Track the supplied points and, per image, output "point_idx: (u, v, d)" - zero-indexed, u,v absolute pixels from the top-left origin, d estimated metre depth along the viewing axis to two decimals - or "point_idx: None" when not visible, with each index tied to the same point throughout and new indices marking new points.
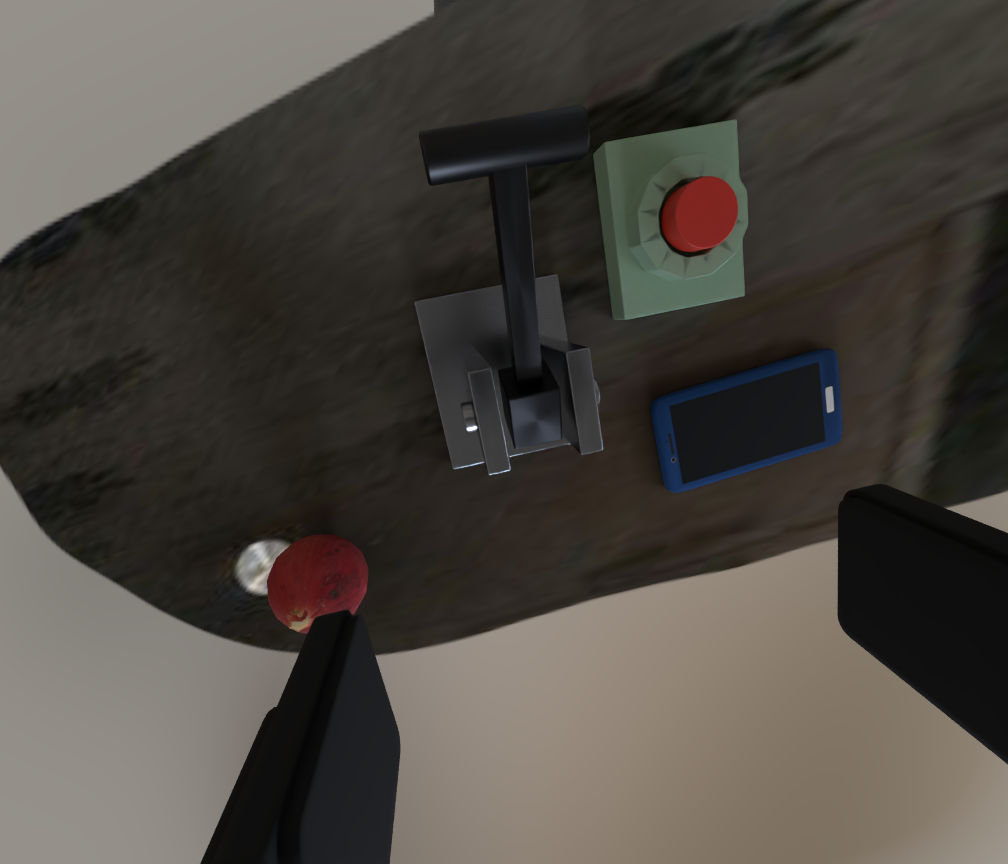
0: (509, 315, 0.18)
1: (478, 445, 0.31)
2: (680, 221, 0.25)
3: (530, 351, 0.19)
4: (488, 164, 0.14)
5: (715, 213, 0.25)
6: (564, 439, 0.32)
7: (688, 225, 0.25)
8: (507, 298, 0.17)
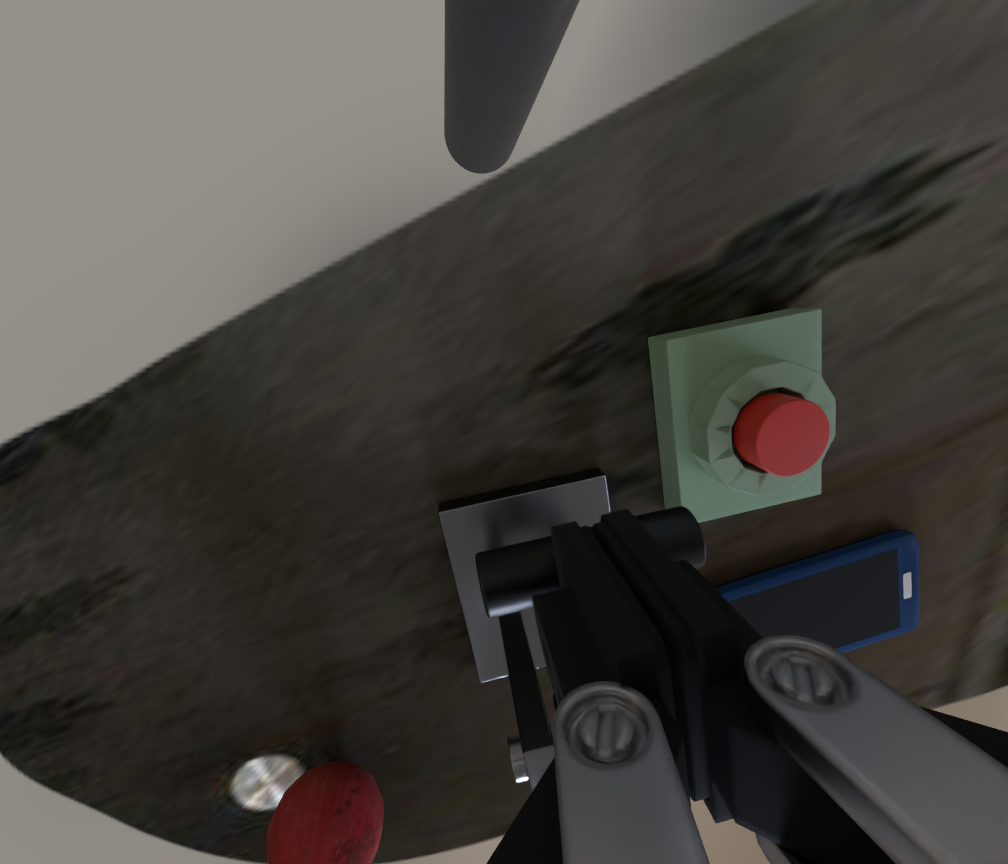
0: None
1: None
2: (761, 450, 0.21)
3: None
4: None
5: (802, 439, 0.21)
6: None
7: (770, 453, 0.21)
8: None
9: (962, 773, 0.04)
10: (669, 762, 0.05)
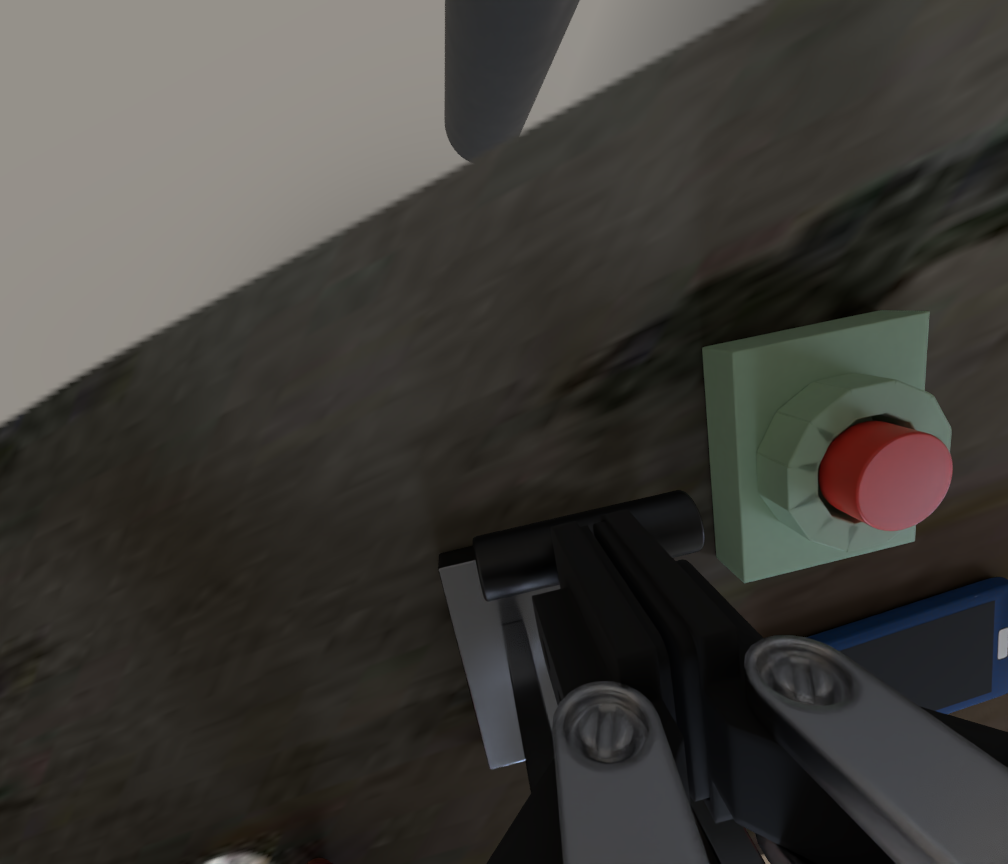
0: None
1: None
2: (864, 498, 0.16)
3: None
4: None
5: (917, 484, 0.16)
6: None
7: (875, 502, 0.16)
8: None
9: (962, 773, 0.04)
10: (669, 762, 0.05)
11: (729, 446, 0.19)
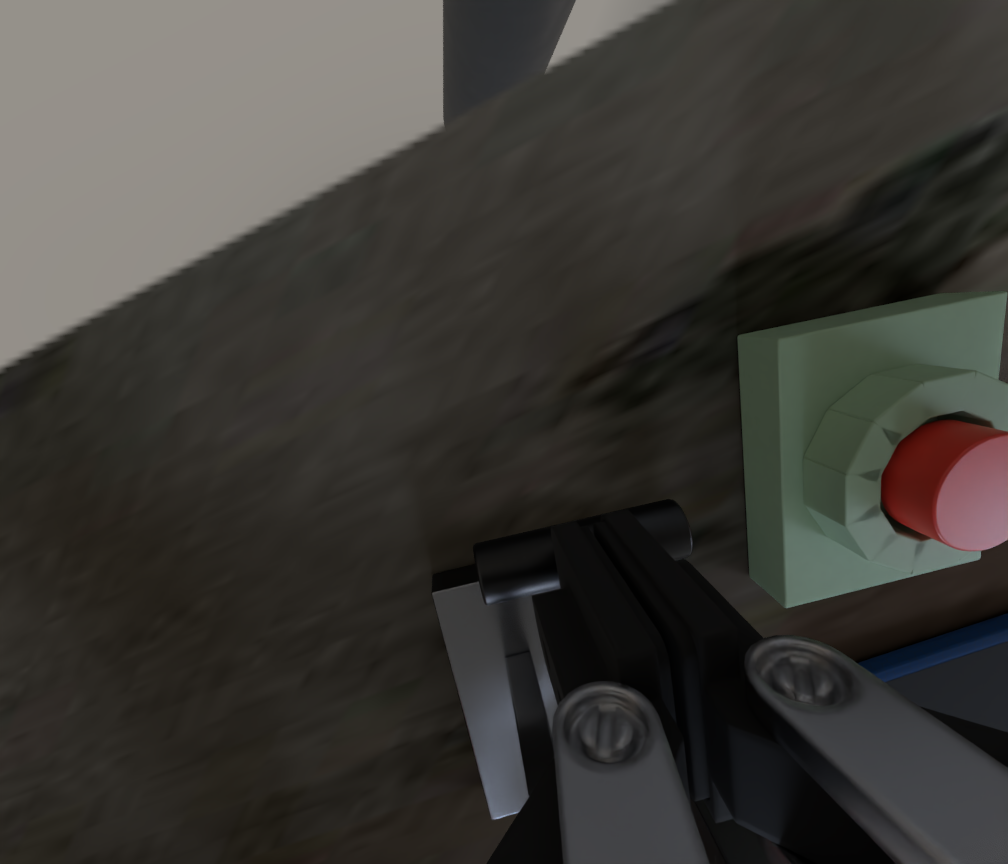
0: None
1: None
2: (942, 513, 0.13)
3: None
4: None
5: (1005, 495, 0.13)
6: None
7: (955, 518, 0.13)
8: None
9: (962, 773, 0.04)
10: (669, 763, 0.05)
11: (770, 450, 0.16)
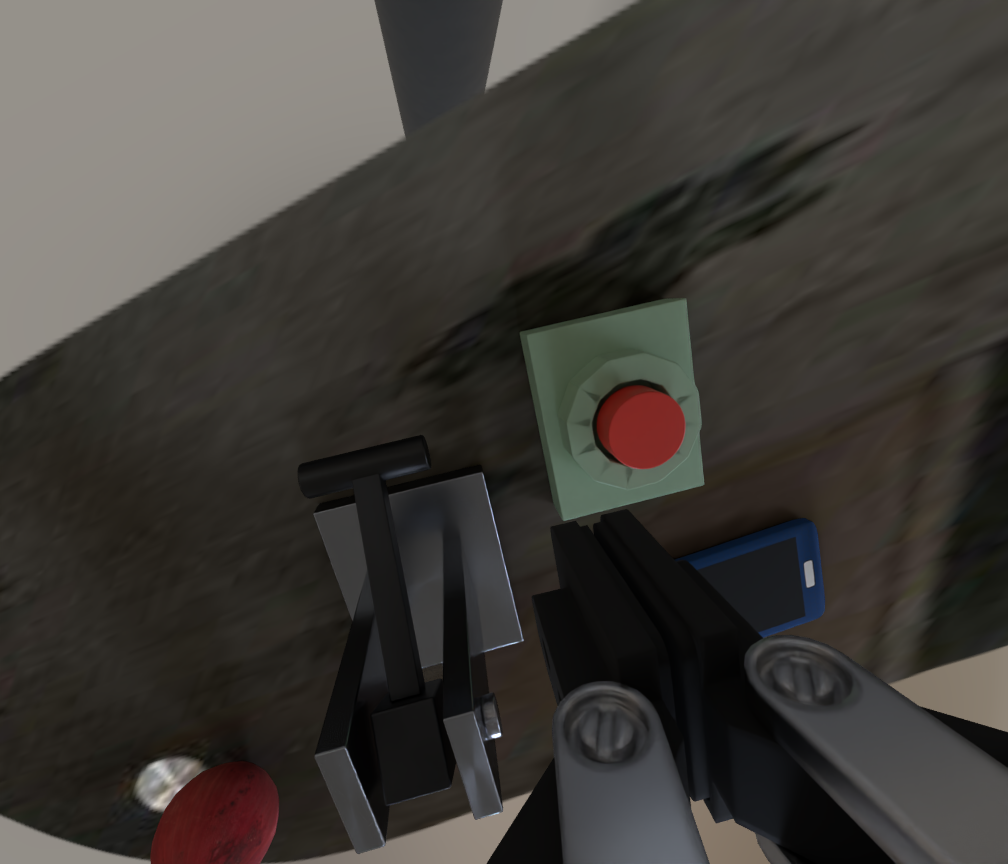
0: (374, 607, 0.17)
1: None
2: (615, 443, 0.21)
3: (400, 650, 0.17)
4: (346, 475, 0.18)
5: (657, 432, 0.21)
6: (502, 641, 0.28)
7: (625, 447, 0.21)
8: (371, 588, 0.18)
9: (962, 773, 0.04)
10: (669, 762, 0.05)
11: (539, 410, 0.24)
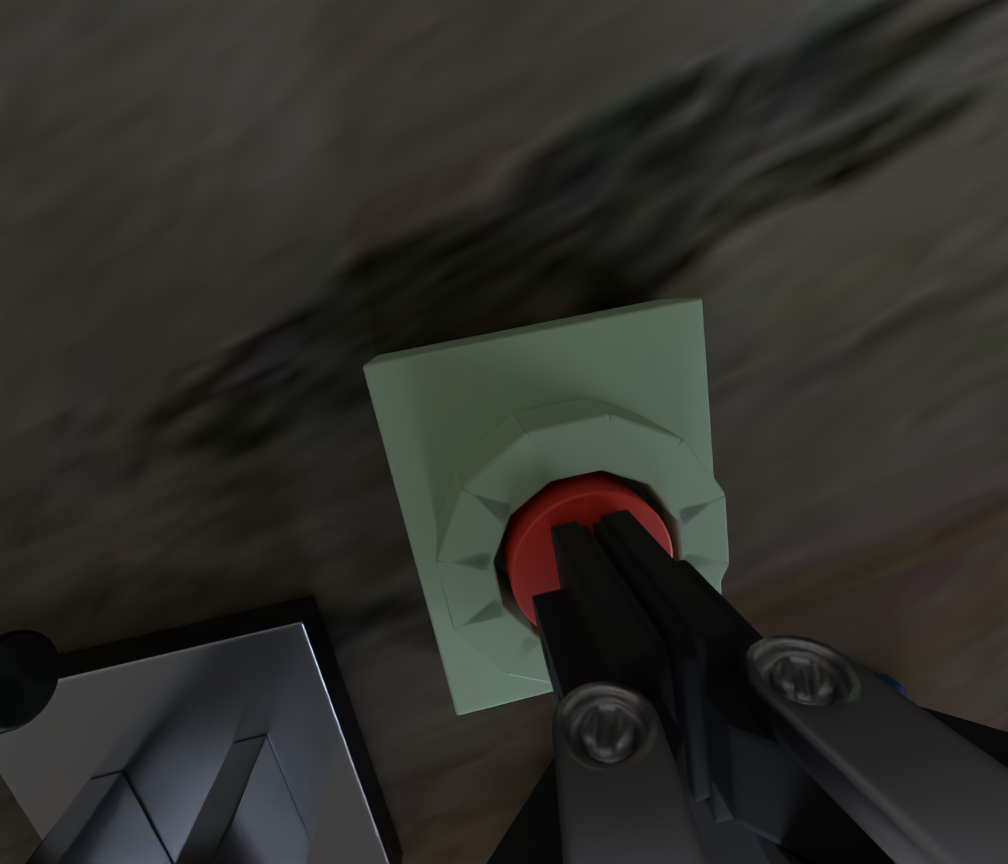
0: None
1: None
2: (526, 594, 0.10)
3: None
4: None
5: None
6: None
7: None
8: None
9: (962, 773, 0.04)
10: (670, 762, 0.05)
11: None
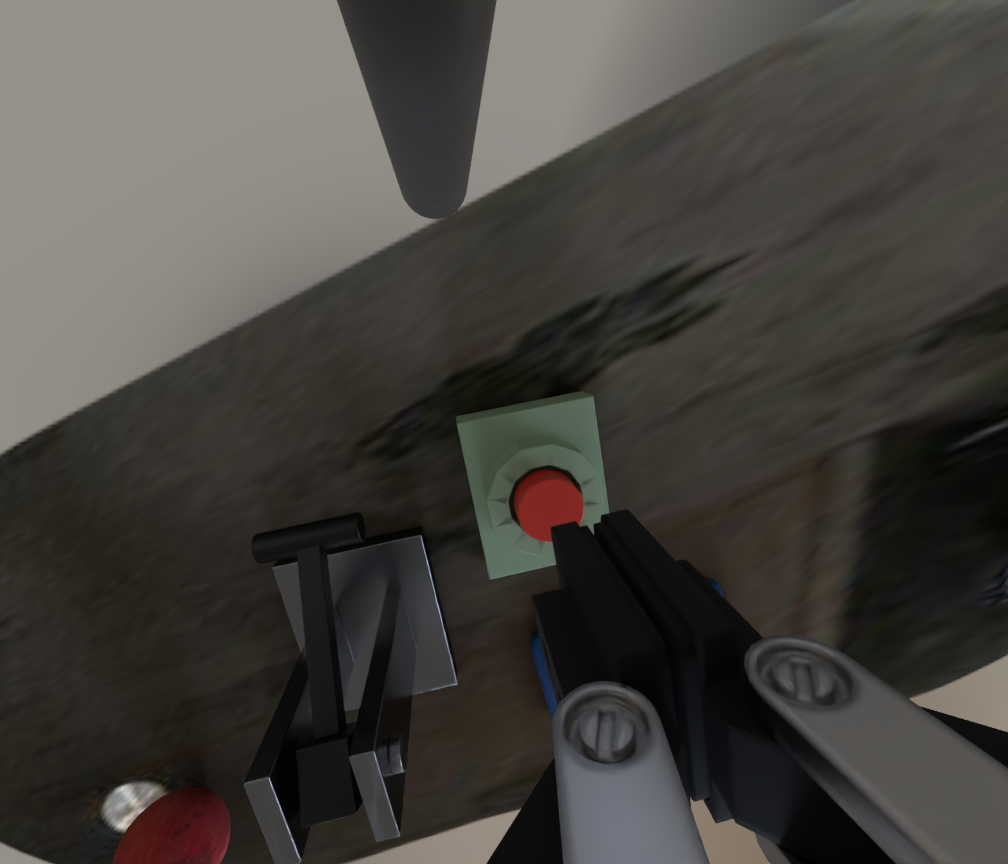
0: (307, 659, 0.21)
1: (347, 694, 0.31)
2: (523, 520, 0.25)
3: (326, 696, 0.21)
4: (292, 546, 0.22)
5: (560, 511, 0.25)
6: (438, 683, 0.31)
7: (532, 523, 0.25)
8: (305, 643, 0.21)
9: (962, 774, 0.04)
10: (669, 763, 0.05)
11: None
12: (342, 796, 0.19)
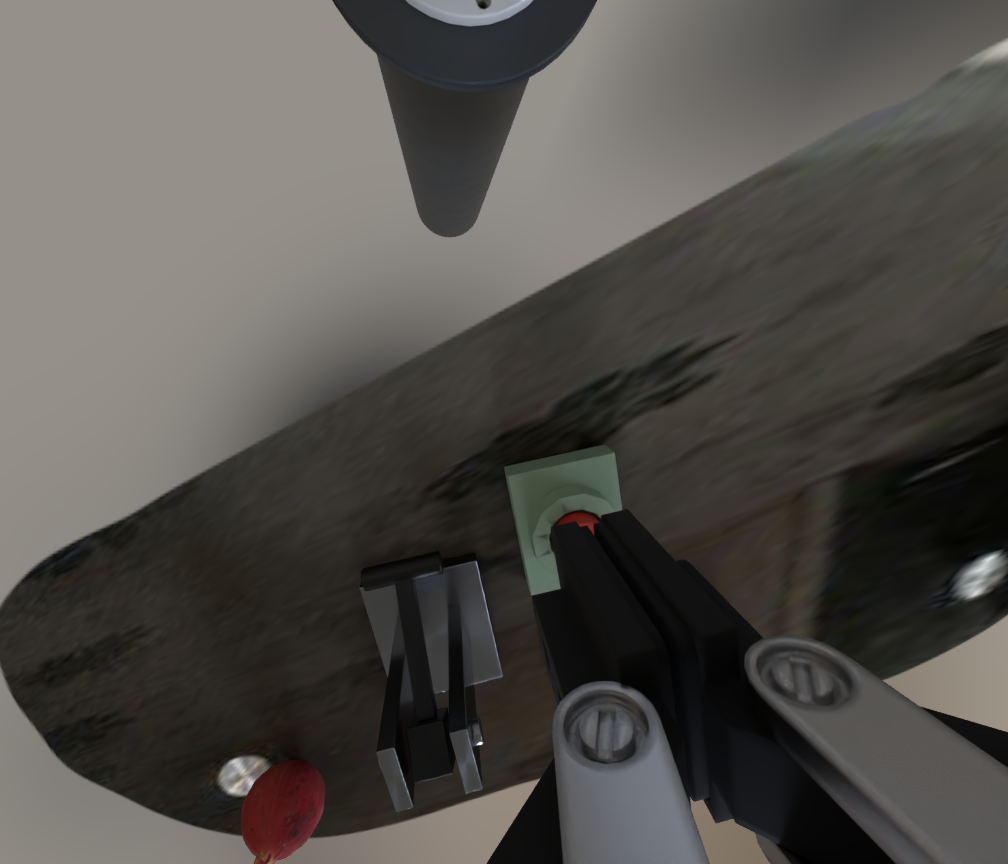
0: None
1: None
2: None
3: (423, 690, 0.28)
4: (391, 578, 0.30)
5: None
6: (487, 676, 0.39)
7: None
8: (406, 651, 0.29)
9: (962, 773, 0.04)
10: (669, 762, 0.05)
11: (516, 521, 0.35)
12: (442, 761, 0.27)
